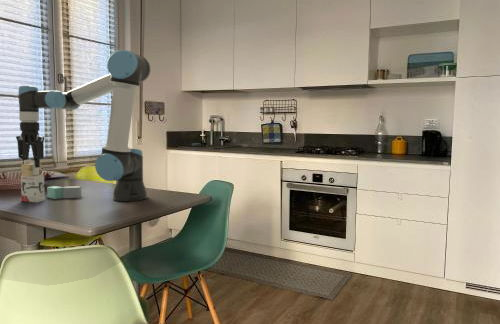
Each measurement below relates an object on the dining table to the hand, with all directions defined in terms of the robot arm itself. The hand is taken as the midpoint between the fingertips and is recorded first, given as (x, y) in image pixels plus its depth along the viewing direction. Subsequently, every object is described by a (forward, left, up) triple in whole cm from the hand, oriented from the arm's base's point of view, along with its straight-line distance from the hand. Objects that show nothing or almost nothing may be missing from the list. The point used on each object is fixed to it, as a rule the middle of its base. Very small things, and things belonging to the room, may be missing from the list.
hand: (31, 174), depth 178 cm
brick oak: (0, 0, 0) cm, 0 cm away
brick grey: (-10, -13, -12) cm, 20 cm away
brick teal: (-3, -10, -12) cm, 16 cm away
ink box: (0, 0, -12) cm, 12 cm away
